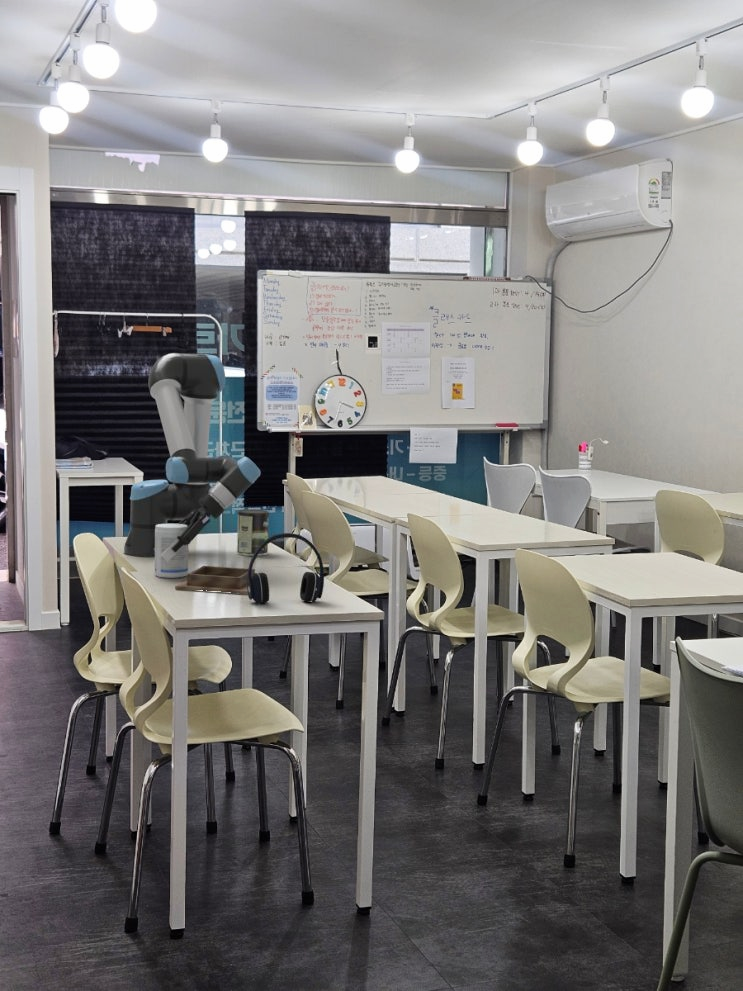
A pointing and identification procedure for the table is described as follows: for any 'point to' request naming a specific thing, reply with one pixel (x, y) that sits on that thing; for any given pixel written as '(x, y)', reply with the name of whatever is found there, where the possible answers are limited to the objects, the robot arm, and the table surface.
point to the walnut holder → (217, 580)
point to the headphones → (310, 580)
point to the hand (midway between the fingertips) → (160, 555)
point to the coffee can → (252, 532)
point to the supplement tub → (163, 540)
